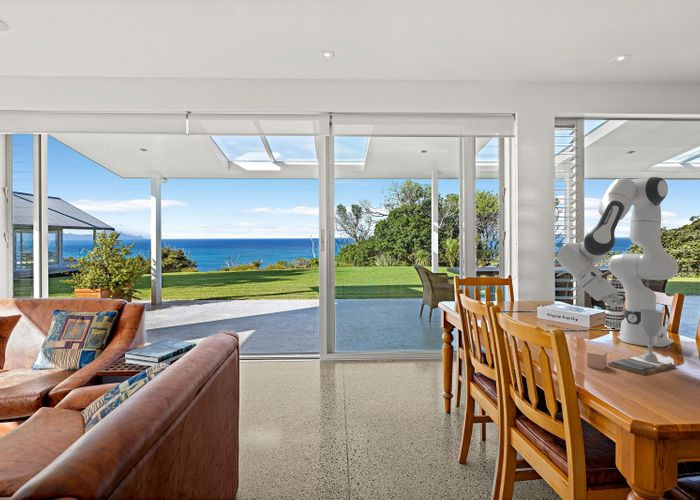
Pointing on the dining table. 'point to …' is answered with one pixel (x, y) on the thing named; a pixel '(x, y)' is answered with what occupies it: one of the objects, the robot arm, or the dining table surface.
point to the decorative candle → (615, 314)
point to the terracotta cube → (597, 359)
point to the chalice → (651, 330)
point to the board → (641, 365)
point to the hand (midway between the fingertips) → (618, 305)
